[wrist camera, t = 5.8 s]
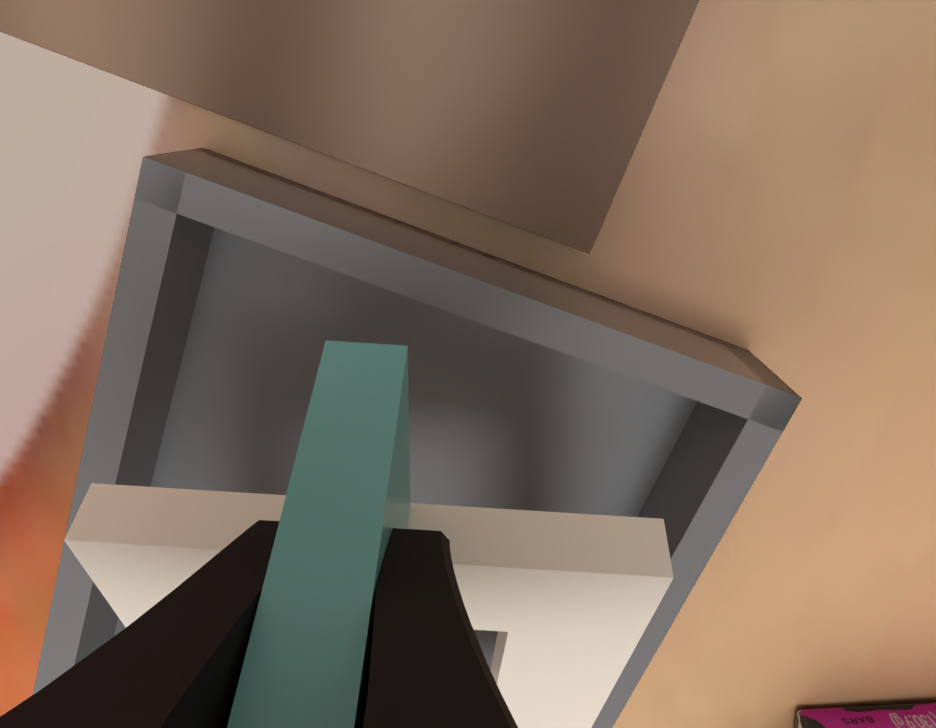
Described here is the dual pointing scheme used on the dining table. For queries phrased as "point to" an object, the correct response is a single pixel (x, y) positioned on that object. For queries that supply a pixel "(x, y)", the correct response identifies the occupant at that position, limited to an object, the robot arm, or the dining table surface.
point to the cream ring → (360, 557)
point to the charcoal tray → (429, 379)
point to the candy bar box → (869, 716)
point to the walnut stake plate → (407, 85)
